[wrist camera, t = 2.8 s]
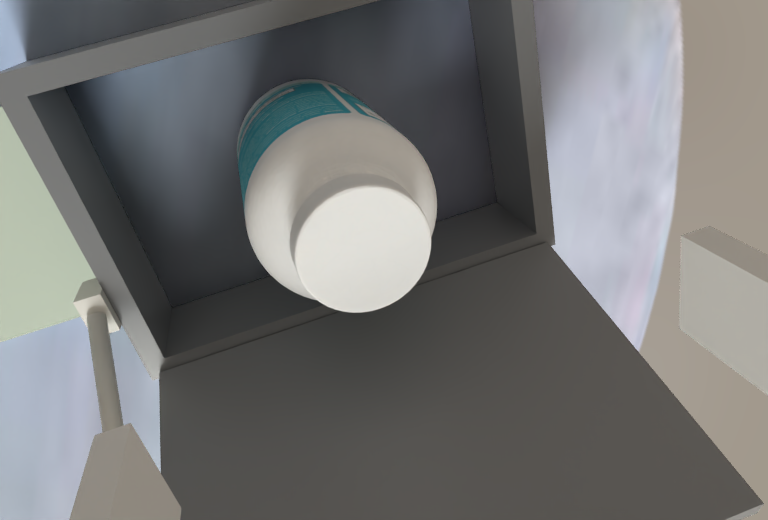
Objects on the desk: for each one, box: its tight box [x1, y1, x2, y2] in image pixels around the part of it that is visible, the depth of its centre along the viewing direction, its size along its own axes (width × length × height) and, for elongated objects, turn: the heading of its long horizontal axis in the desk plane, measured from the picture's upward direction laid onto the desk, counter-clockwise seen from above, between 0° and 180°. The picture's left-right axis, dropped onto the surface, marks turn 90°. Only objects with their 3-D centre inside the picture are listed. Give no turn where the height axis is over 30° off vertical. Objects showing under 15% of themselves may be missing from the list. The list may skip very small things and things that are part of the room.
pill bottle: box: [237, 79, 437, 313], centre depth 25 cm, size 8×7×14 cm
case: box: [0, 0, 764, 520], centre depth 23 cm, size 19×23×20 cm
